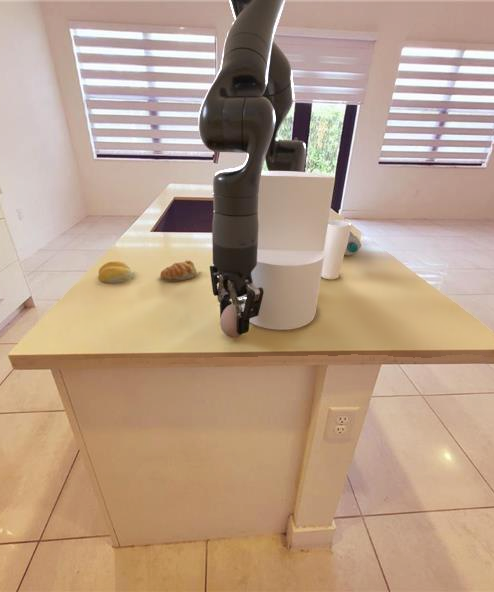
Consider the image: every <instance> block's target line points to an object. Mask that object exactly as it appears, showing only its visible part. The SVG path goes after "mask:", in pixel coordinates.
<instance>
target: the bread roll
mask: <svg viewBox="0 0 494 592" xmlns="http://www.w3.org/2000/svg"><path fill="white" fill-rule="evenodd" d="M132 276H133V271H132V269H131V267H130V266H129V265H128V264H127V263H125V262H123V261H119V260H113V261H108V262H105V263H104V264H102V266H101V267H100V268H99V270H98V278H97V279H98V281H99V282H100V283H103V284H106V285H118V284H123V283H125V282H127V281H129V280H130V279H131V278H132Z"/></svg>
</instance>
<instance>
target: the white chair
mask: <svg viewBox="0 0 494 592" xmlns="http://www.w3.org/2000/svg"><path fill="white" fill-rule="evenodd" d="M335 182H336V177H335V176H332V175H329V174H323V173H315V172H307V171H304V172H295V171H268V170H262V172H261V177H260V184H259V197H258V223H259V230H258V249H257V265H256V267H255V268H254V269H253V270H252V272H251V277H252V281H253V285H254V286H255V287H256V288H260V287H261V288H263V291H264V293H263V297H262V302H261V306H260V310H259V314H258V316H256V317H253V318H250V321H249V324H253V325H255V326H256V327H260V328H263V329H270V330H278V331H283V330H287V331H288V330H293V329H294V330H295V329H299V328H302V327H304V326H307V325H309V324H310V323H311V322H312V321H313V320H314V318H315V316H316V312H317V306H318V301H319V300H318V299H319V293H320V286H321V280H322V277H321V274H322V268H323V262H324V246H325V240H326V233H327V227H328V220H330V214H331V207H332V202H333V201H332V200H333V195H334V194H333V193H334V187H335ZM244 297H245V295H244V296H241V297H237V298H238V300H239V299H242V298H244ZM244 306H245V304H242V305H241V307H242V308H243V310H244ZM252 310H253V309H252Z"/></svg>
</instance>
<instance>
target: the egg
mask: <svg viewBox="0 0 494 592" xmlns="http://www.w3.org/2000/svg"><path fill="white" fill-rule="evenodd" d="M242 310H243V308H242ZM219 318H220V317H219ZM219 325H220V329H221V331H222V333H224V334H225V336H227V337H229V338H231V339H236V338H239V337H240V336H242V335H243V334H241V335H239V334H238V333H237V312H236V306H235V305H233V304H231V305H229V306H227V307H226V308H225V309H224V311H223V313H222V315H221V318H220V319H219Z"/></svg>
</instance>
